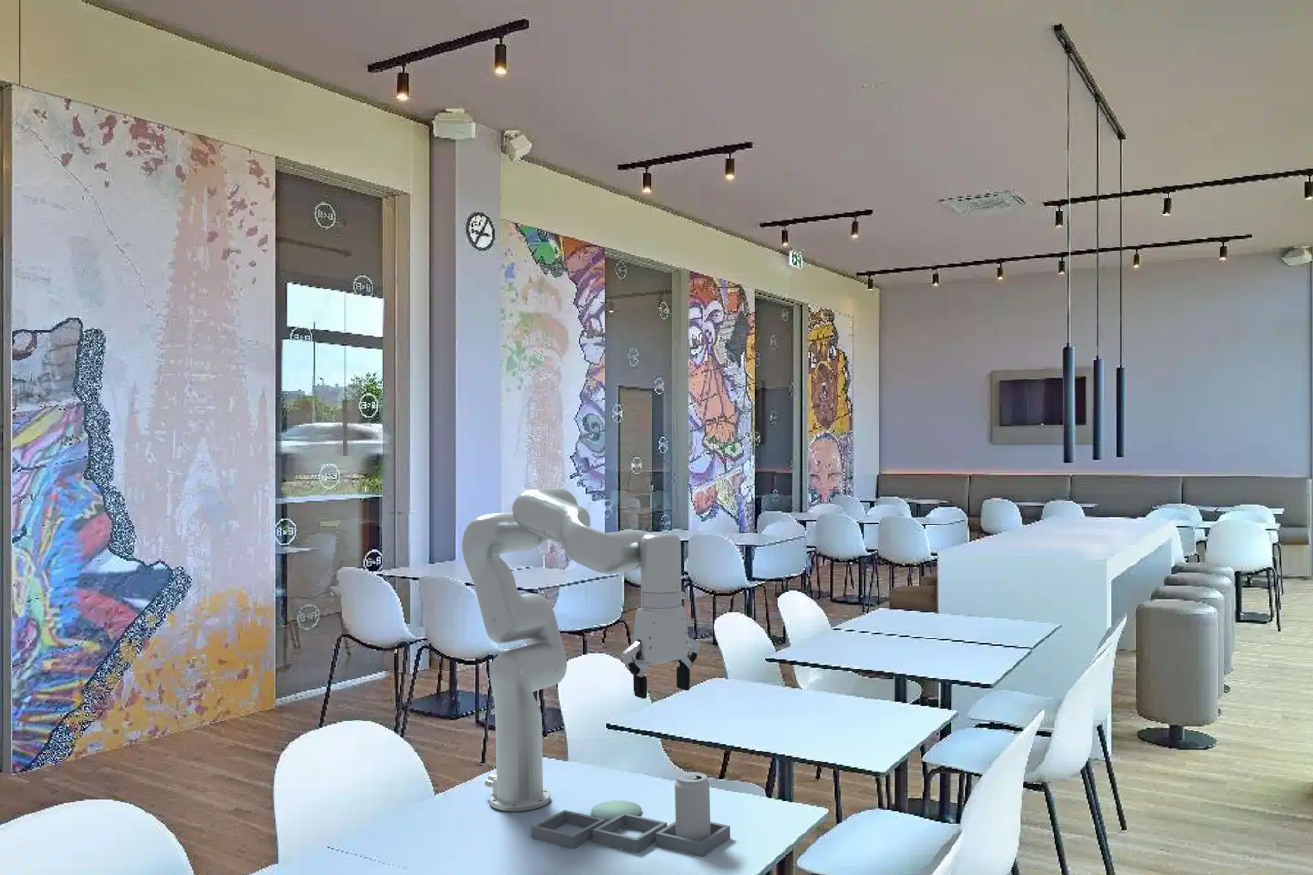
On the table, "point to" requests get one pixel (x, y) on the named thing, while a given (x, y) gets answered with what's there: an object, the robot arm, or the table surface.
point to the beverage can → (692, 806)
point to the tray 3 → (674, 842)
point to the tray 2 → (608, 837)
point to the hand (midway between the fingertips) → (662, 693)
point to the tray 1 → (547, 834)
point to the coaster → (615, 809)
